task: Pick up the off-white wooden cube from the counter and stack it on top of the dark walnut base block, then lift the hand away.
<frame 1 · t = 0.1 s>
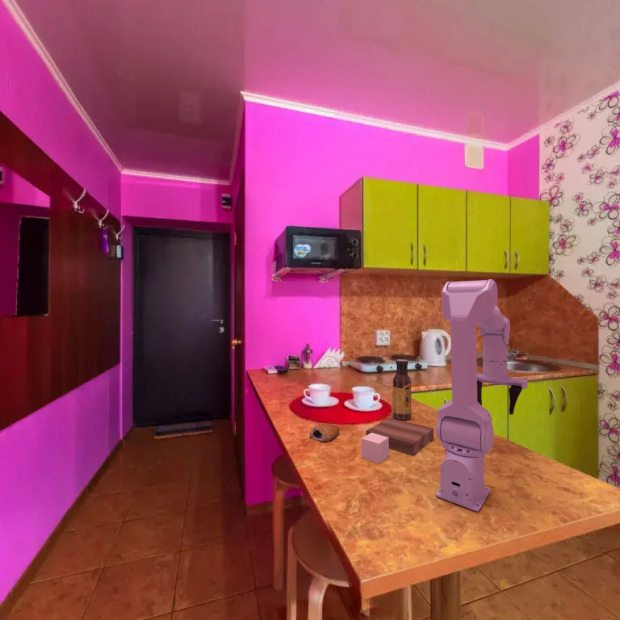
hand: (495, 410, 88), 10 cm above the worktop, fingers open, 7 cm apart
sauce bottle: (402, 418, 112), on the worktop
base: (399, 439, 93), on the worktop
pastry: (324, 437, 96), on the worktop
cube: (375, 457, 83), on the worktop
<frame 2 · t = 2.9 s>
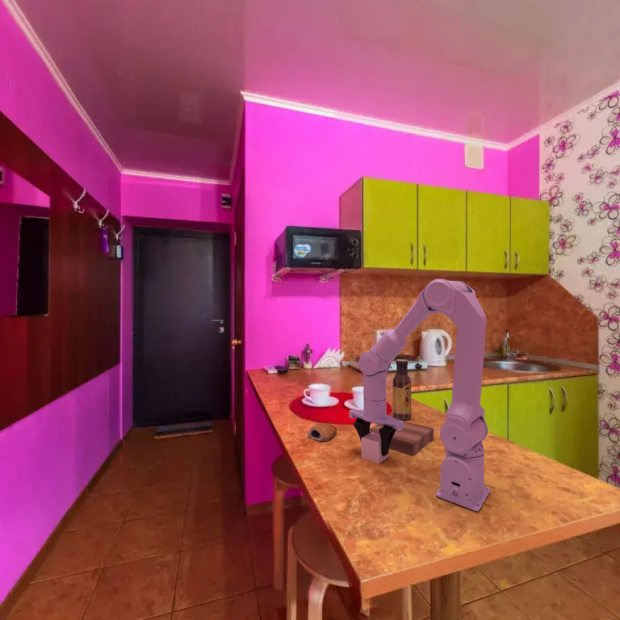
hand: (375, 451, 83), 1 cm above the worktop, fingers closed on cube, 5 cm apart
cube: (375, 457, 83), on the worktop, touching gripper
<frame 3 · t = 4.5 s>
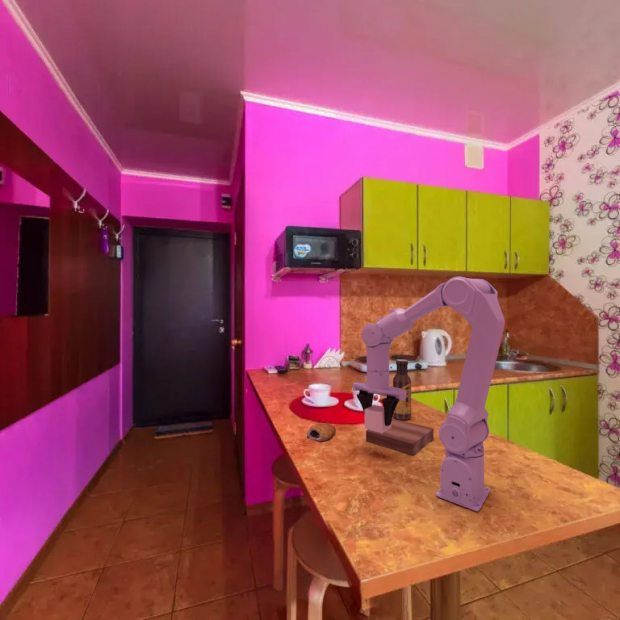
hand: (378, 422, 84), 8 cm above the worktop, fingers closed on cube, 5 cm apart
cube: (378, 428, 84), point 7 cm above the worktop, touching gripper
when the fingers open (5 cm above the worktop, at t = 6.3 s): cube stays where it is, resting on base.
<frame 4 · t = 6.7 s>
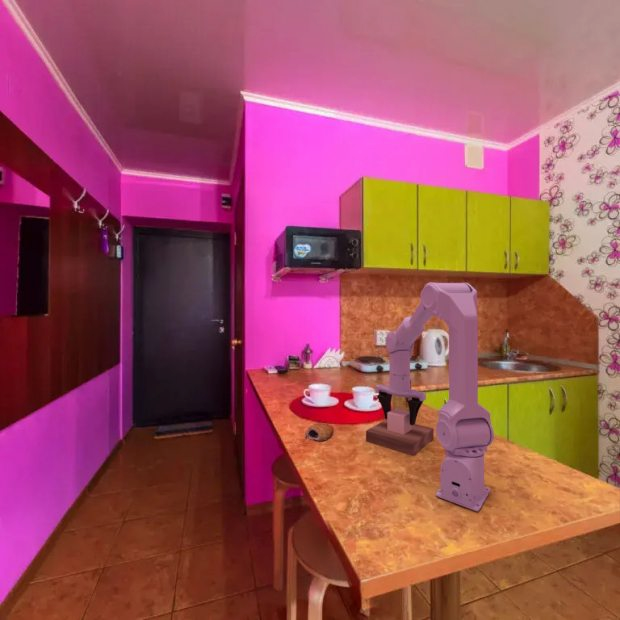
hand: (399, 421, 93), 5 cm above the worktop, fingers open, 7 cm apart
cube: (399, 429, 93), point 3 cm above the worktop, touching base
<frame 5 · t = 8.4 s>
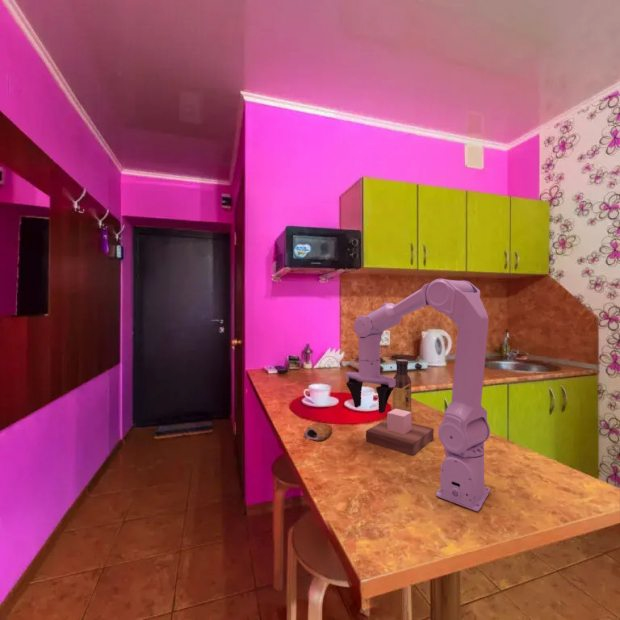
hand: (369, 409, 88), 10 cm above the worktop, fingers open, 7 cm apart
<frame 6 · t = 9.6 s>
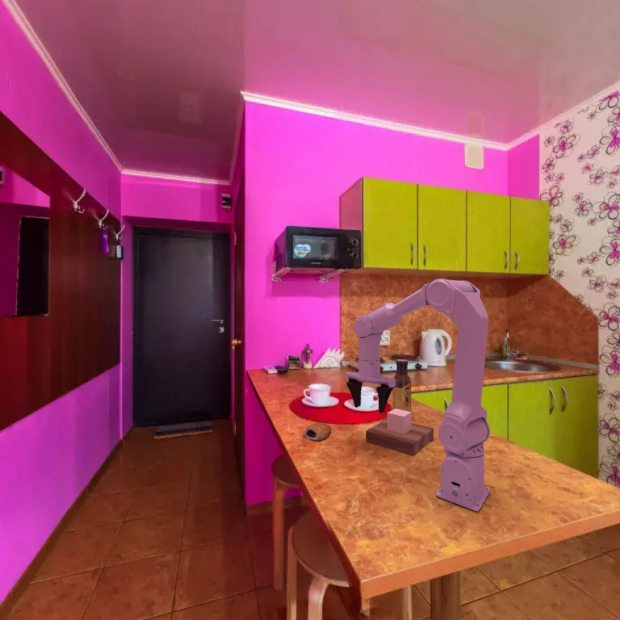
hand: (369, 409, 88), 10 cm above the worktop, fingers open, 7 cm apart
at the end: cube inside the target area on the base (0.3 cm from its centre), point 3.0 cm above the base's base; cube tilted 0°; the gripper is holding nothing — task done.
